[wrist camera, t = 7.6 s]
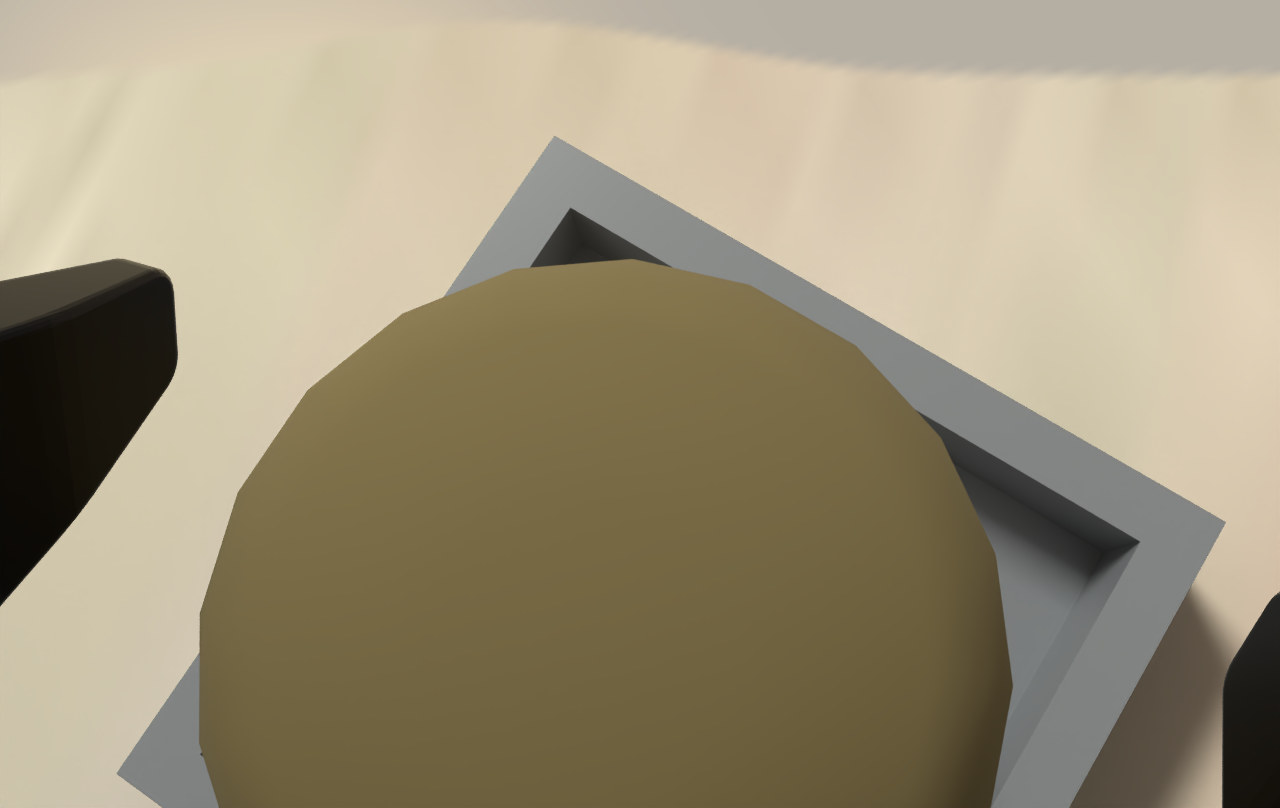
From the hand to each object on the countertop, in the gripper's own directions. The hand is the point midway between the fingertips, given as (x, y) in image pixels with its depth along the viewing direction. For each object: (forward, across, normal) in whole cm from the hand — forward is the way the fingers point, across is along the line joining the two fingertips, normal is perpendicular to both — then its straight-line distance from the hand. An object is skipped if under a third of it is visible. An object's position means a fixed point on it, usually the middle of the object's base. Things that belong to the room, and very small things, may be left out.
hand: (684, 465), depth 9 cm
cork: (+5, 0, +7) cm, 8 cm away
